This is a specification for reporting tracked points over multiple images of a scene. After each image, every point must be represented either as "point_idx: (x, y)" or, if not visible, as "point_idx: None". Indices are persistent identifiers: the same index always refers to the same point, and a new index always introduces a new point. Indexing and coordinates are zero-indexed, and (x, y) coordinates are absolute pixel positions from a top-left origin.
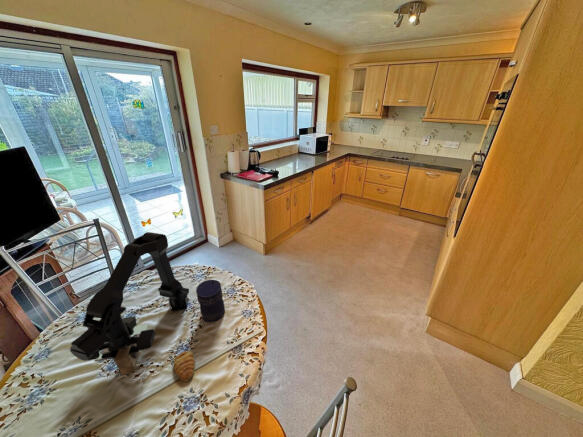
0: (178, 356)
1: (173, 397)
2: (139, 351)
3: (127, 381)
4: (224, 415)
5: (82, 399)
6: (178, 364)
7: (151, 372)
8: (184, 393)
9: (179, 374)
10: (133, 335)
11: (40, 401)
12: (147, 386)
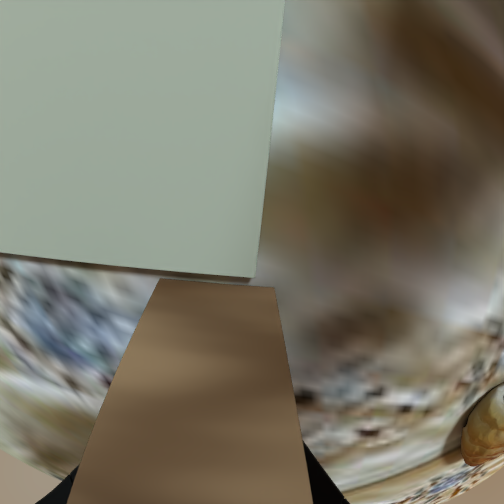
0: None
1: (417, 484)
2: (276, 307)
3: None
4: (482, 480)
5: (41, 436)
6: (495, 451)
7: (365, 436)
8: (447, 472)
9: (472, 463)
10: (131, 8)
11: None
12: (339, 474)
